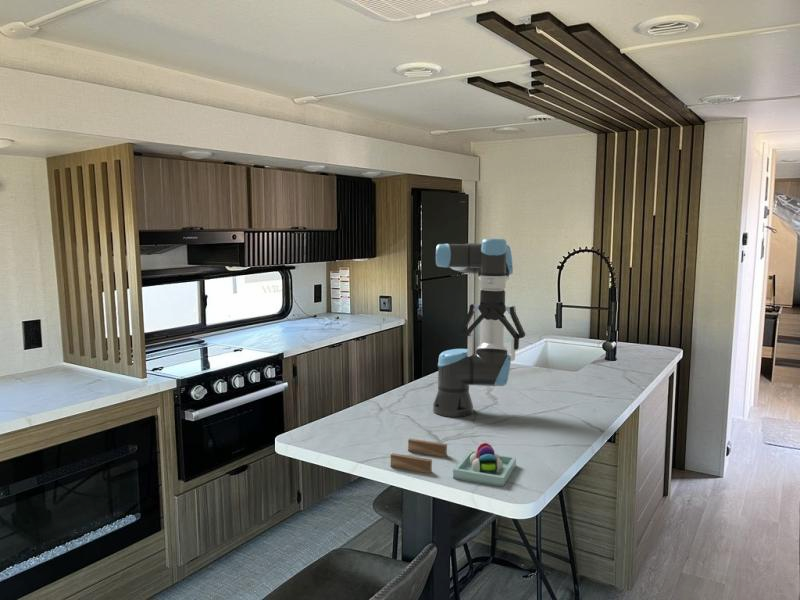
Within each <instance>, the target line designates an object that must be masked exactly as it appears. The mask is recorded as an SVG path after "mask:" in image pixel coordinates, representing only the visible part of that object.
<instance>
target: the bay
mask: <svg viewBox="0 0 800 600" xmlns="http://www.w3.org/2000/svg"><path fill="white" fill-rule="evenodd" d="M407 441H408V442H407V443H408V445H407V446H408V447H407V451H408V452H413V453H418V454H419V453H420V454H423V455H424V454H425V455H431V456H438V457H444V458H446V457H447V456H448V455H447V454H448V452H447V451H448V444H447V443H441V442H436V441H431V440H430V441H429V440H421V439H417V438H416V439H415V438H408V440H407ZM432 465H433V459H430V458H425V457H418V456H412V455H408V454H406V455H405V454H400V453H394V452H392V453H391V454H390V467H391V468H392V467H393V468H397V469H404V470H409V471H415V472H421V473H424V474H425V473H426V474H431V473H432V472H433V471H432V467H433V466H432Z"/></svg>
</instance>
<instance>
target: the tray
mask: <svg viewBox="0 0 800 600" xmlns="http://www.w3.org/2000/svg"><path fill="white" fill-rule="evenodd" d="M473 453H477V450H472V449H471V450H469V451H467V452H466V454H465V455H464V456H463V457H462V459H461V460H460V461H459V462H458V463H457V464H456V466H455V467H454V468H453V469H452V470H453V471H452V478H453V479H455V480H462V481H468V482H473V483H479V484H484V485H490V486H496V487H501V488H503V487H504V486H505V484H506V483H507V481H508V480H509V478H510V476H511V475H512V473H513V471H514V469H515V468H516V466H517V457H516V456H511V455H510V456H509V455H504V454H498V455H499V457H500V460H501V461H502V463H503V469H502V470H501V471H500V472H499V473H496V471H495V469H494V470H483V469H481V468H480V472H475V471H474V470H473V469H472V465H471V464H470V456H471V455H472V454H473Z"/></svg>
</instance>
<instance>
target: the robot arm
mask: <svg viewBox="0 0 800 600" xmlns="http://www.w3.org/2000/svg"><path fill="white" fill-rule="evenodd" d="M435 265H436V266H437V267H439V268H450V269H451V270H454V271H457V272H460V273H463V274H464V273H465V274H473V275H474V274H476V275H477V280H479V281H480V288H481V290H480V292H479V294H480V297H479V304H475V303H471V304H470V305H469V307H468V309H469V310H468V313H467V314H466V316H465V318H464V320H463V321H462V324H461V326H460V328H459V330H458V333H459V334H462V335H464V346H467V348H453V349H447V350H444V351H442V352H441V353H440V354H439V356H438V362H437V368H438V369H437V371H438V373H437V393H436V395H435V398H434V400H433V404H432V411H433V413H435V414H437V415H439V416H443V417H451V418H460V417H467V416H470V415H472V414H473V413H474V404H473V401H472V398H471V394H470V386H480V387H481V386H485V387H504V386H506V385H507V384H508V381H509V373H510V369H511V362H514V361H515V360H516V351H517V350H519V348H520V339H522V338H525V336H526V333H525V331H524V328H523V326H522V323H521V321H520V319H519V318H518V315H517V312H516V311H517V310H516V306H515V305H512V306H506V291H505V289H506V284H507V283H506V282H507V281H508V280H509V279H510V278H509V277H510V276H511V275H512V274H514V273H513V272H514V270H513V269H514V268H513V267H514V266H513V257H512V251H511V247H510V245H509V244H507V240H506V239H504V238H484V239H482V240H481V243H470V242H469V243H465V244H463V243H462V244H461V243H438V244H437V245H436V248H435ZM477 311H478V312H480V315H479V316H477V318H476V319H475V321H474V322H473V323H471V325H470V326H469V327H468V325H469V323H470V321H471V320H472V318H473V316H474V314H475V312H477ZM506 312H507V313H508V314H509V315H510V318H511V320H512V322H513V324H514V327H515V328H514V327H513V325H512V324H511V323H510V322H509V320H508V319H507V317H506V316H505V313H506ZM479 324H480V337H479V339H480V341H479V345H478V346H477V348H475V353H473V334H471V333H472V332H473V331H474V330H475V329H476V327H478V326H479ZM504 327H505V328H504ZM504 329H506V330H507V331H508V333H509V334H510V335H511V336H512V338H511V340H510V354H508V349H507V348H506V347H505V346H504V335H505V334H504Z"/></svg>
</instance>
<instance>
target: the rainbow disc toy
mask: <svg viewBox="0 0 800 600" xmlns="http://www.w3.org/2000/svg"><path fill="white" fill-rule="evenodd" d="M476 451H477V453H473V454H472V455H471V456H470V464H471V465H472V469H473V470H474V471H475V472H480V468H481V469H483V470H494V469H495V471H496V473H499V472H500V471H501V470H502V469H503V463H502V461H501V460H500V457H499V455H500V454H498V453H496V452H495V449H494V448H493V446H492V445H490V444H489V443H488V442H483V443H481V444H479V445H478V447H477V449H476Z"/></svg>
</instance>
